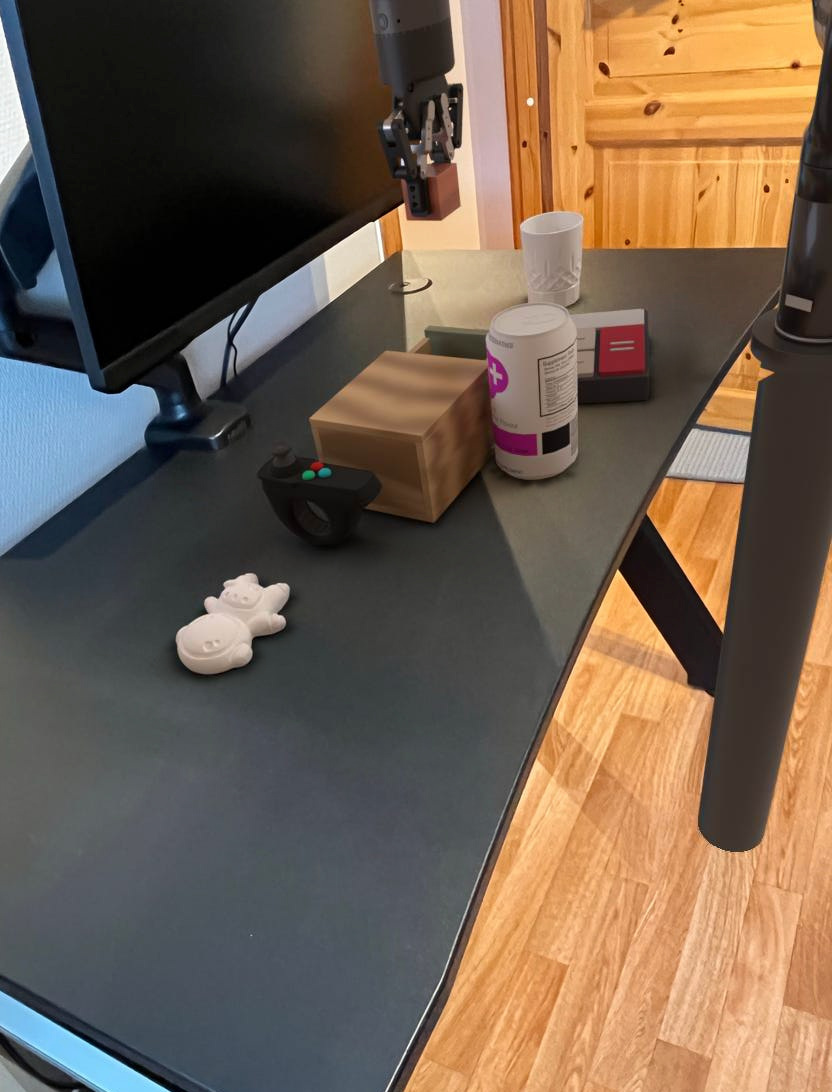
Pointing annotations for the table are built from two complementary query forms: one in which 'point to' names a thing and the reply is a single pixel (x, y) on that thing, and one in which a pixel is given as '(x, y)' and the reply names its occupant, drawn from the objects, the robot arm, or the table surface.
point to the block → (438, 192)
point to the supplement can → (533, 389)
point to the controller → (316, 495)
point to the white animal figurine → (232, 625)
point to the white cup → (552, 256)
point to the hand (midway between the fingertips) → (433, 206)
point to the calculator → (612, 356)
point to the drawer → (453, 343)
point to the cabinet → (411, 429)
